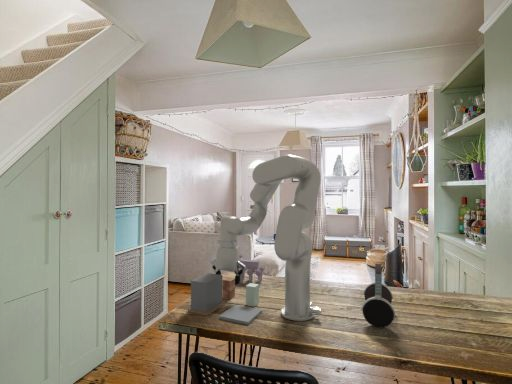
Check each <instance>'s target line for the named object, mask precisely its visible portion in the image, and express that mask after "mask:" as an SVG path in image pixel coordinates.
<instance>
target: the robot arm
mask: <svg viewBox="0 0 512 384" xmlns="http://www.w3.org/2000/svg"><path fill="white" fill-rule="evenodd" d="M287 179H291V180H295V179H296V180H298V184H297V186H296V189H295V191H294V198H293V203H292V204H288V205H286V206H285V207H283V208H282V209H281V211H280V214H279V215H278V219H277V225H276V230H275V231H276V232H275V236H274V237H275V238H274V244H273V245H274V251H275V254H276V257H278V258H279V259H280V260H281V261H285V266H284V267H285V268H284V270H285V271H284V299H285V300H284V307H282V308H281V310H280V315H281V317H283V318H285V319H287V320H291V321H296V322H303V321H310V320H311V319H313V318H314V317H315V315H319V316H320V315H322V312H323V311H322V309H321V308H320V307H319V306H314V305H313V302H312V301H311V262H312V254H313V241H312V239H311V237H310V235H309V234H308V233H306V232H305V231H303V230H304V229H308V228H310V227H312V225H313V224H314V221H315V215H316V210H317V204H318V199H319V198H318V197H319V191H320V186H321V181H322V180H321V173H320V169H319V168H318V166H317V165H316V164H315V163H314V162H313V161H312V160H310V159H307V158H306V157H302V156H297V155H293V154H285V155H282V156H278V157H274V158H272V159H269V160H266V161H263V162H261V163H259V164H258V165H256V166H255V168H254V169H253V171H252V181H254V183H255V185H254V186H253V188H252V189H251V191H250V193H249V198H250V200H252V201H253V207H252V210H251V211H250V213H249V215H248V216H240V217H236V216H234V215H223V216H221V217H220V226H219V227H220V229H219V231H220V234H219V235H220V236H219V237H220V238H219V240H218V241H217V244H219V246H217V251H216V256H215V257H216V258H215V259H214V260H211V261H210V264H211V266H212V267H211V268H212V269H213V271H214V272H215V274H218V275H222V272H221V271H226V272H234V274H235V276H234V279H235V286H237V285H239V284H241V283H240V275H241V274H242V273H243V272H244V270H245V268H246V266H245V265H244V264H242V263H241V262H240V257H239V254H240V251H239V250H240V249H239V247H238V236H243V235H248V234H249V235H250V234H253V233H256V232H257V231H259V228H260V227H261V226H262V224H263V222H264V221H265V219H266V216H267V214H268V213H267V212H268V207H269V206H268V204H269V203H270V201H271V199H272V197H273V196H274V194H276V191H277V189H278V187H279V186H280V185H281V183H282V181H283V180H287ZM239 267H241V270H239Z"/></svg>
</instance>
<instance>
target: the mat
mask: <svg viewBox="0 0 512 384" xmlns="http://www.w3.org/2000/svg"><path fill="white" fill-rule="evenodd" d="M262 313H263V309H259V308H254V307H250V306H248V307H247V306H243V305H237V304H234V305H232V306H231V307H230V308H228V309H227V310H225V311H224V312H222V313H221V314H219V316H218V319H220V320H224V321H228V322H233V323H236V324H242V325H247V326H249V325H250V324H251V323H252V322H253V321H255V319H257V318H258V317H259V316H260V315H261V314H262Z"/></svg>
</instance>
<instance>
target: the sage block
mask: <svg viewBox="0 0 512 384" xmlns="http://www.w3.org/2000/svg"><path fill="white" fill-rule="evenodd" d="M259 288H260V284H258V283H253V282H252V283H250V282H249V283H248V284H246V285H245V306H248V307H252V308H254V307H256V306H257V305H259V303H260V300H259V299H260V289H259Z"/></svg>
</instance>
